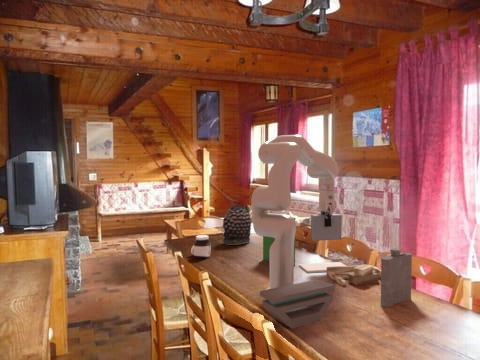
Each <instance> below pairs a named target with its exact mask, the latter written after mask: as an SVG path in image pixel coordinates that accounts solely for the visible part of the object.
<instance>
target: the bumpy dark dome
mask: <svg viewBox="0 0 480 360" xmlns="http://www.w3.org/2000/svg"><path fill="white" fill-rule="evenodd" d="M251 209H252V206H251V205H250V204H246V205H243V204H242V205H233V204H231V205H230V208H229V209H228V210H227V212H226V214H224V218H223V221H222V227H223V233H222V237H223V238H224V239H223V243H224V245H230V246H231V245H234V246H235V245H242V244H247V243H250V241H251V238H250V236H251V232H252V231H251V229H252V227H251V226H252V218H251V217H252V215H251Z"/></svg>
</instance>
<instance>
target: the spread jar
mask: <svg viewBox="0 0 480 360" xmlns="http://www.w3.org/2000/svg"><path fill="white" fill-rule="evenodd" d="M211 246H212V245H211V241H210V240H209V235H207V234H200V235H199V234H198V235H196V236H195V241H194V243H193V245H192V247H191V249H190V253H191V254H192V255H193V256H194V257H195V259H199V260H206V259H209V258H210V256H211V253H212V252H211V251H212V250H211V249H212V248H211Z"/></svg>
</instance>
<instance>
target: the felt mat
mask: <svg viewBox="0 0 480 360" xmlns="http://www.w3.org/2000/svg"><path fill="white" fill-rule="evenodd" d="M338 266H347V264H345V263H342V262H341V261H334V262H332V261H331V262H315V263H314V262H313V263H298V267H299V268H301V269H302V271H304V272H306V273H307V274H310V273H311V274H313V273H314V274H315V273H327V267H338Z"/></svg>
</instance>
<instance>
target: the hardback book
mask: <svg viewBox="0 0 480 360" xmlns="http://www.w3.org/2000/svg"><path fill="white" fill-rule="evenodd" d="M293 218H294V219H295V220H296V217H293ZM274 241H275V238H272V237H265V236H262V259H263V261H265V262H268V263H270V247H271V245H272V244H273V242H274ZM294 266H296V237H295V238H294Z"/></svg>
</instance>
